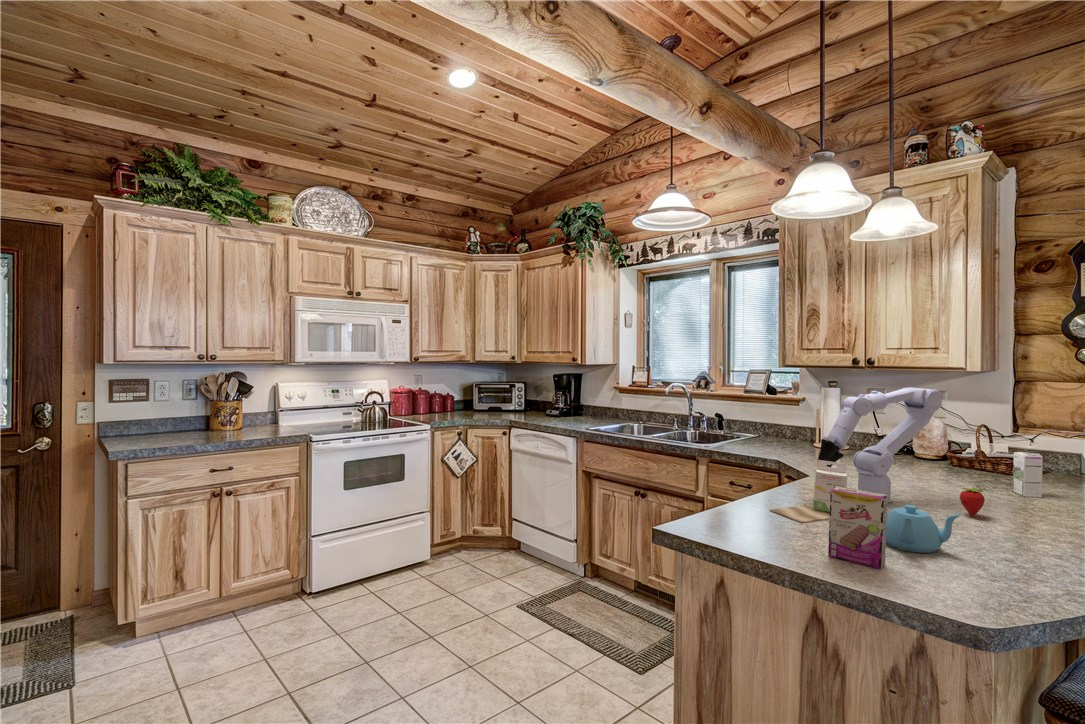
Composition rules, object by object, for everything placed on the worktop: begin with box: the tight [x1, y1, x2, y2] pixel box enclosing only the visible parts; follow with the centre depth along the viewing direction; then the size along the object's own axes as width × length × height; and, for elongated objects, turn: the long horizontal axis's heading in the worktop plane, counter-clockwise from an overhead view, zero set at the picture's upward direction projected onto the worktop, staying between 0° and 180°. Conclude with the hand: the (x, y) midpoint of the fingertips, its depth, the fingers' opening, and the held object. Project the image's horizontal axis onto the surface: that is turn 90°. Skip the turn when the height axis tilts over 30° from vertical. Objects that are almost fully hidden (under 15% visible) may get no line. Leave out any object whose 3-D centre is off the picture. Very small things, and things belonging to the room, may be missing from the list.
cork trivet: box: [769, 504, 830, 524], centre depth 160 cm, size 14×12×1 cm
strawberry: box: [959, 487, 986, 517], centre depth 160 cm, size 6×8×10 cm
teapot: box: [886, 504, 961, 554], centre depth 135 cm, size 15×15×10 cm
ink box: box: [813, 459, 848, 513], centre depth 164 cm, size 9×5×15 cm, turn 62°
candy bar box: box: [827, 486, 889, 570], centre depth 125 cm, size 11×5×16 cm, turn 48°
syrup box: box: [1012, 451, 1044, 498], centre depth 185 cm, size 6×6×14 cm
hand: (822, 466), depth 173 cm, fingers open, 7 cm apart
